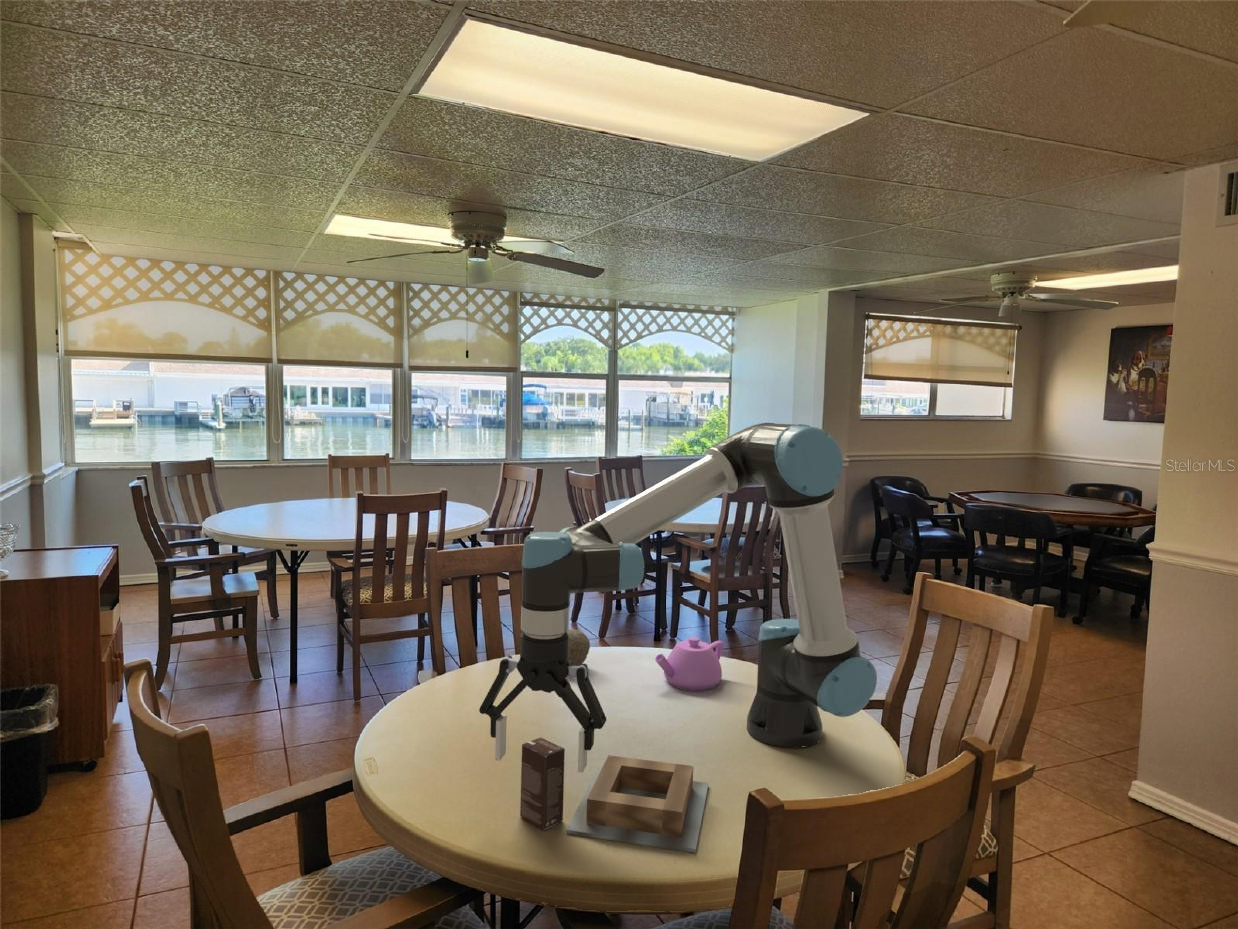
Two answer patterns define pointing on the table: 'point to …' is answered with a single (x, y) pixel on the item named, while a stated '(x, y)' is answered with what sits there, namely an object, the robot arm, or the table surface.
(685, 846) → the socket
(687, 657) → the teapot
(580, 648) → the decorative stone
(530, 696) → the table surface
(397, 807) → the table surface
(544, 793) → the box
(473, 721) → the table surface
